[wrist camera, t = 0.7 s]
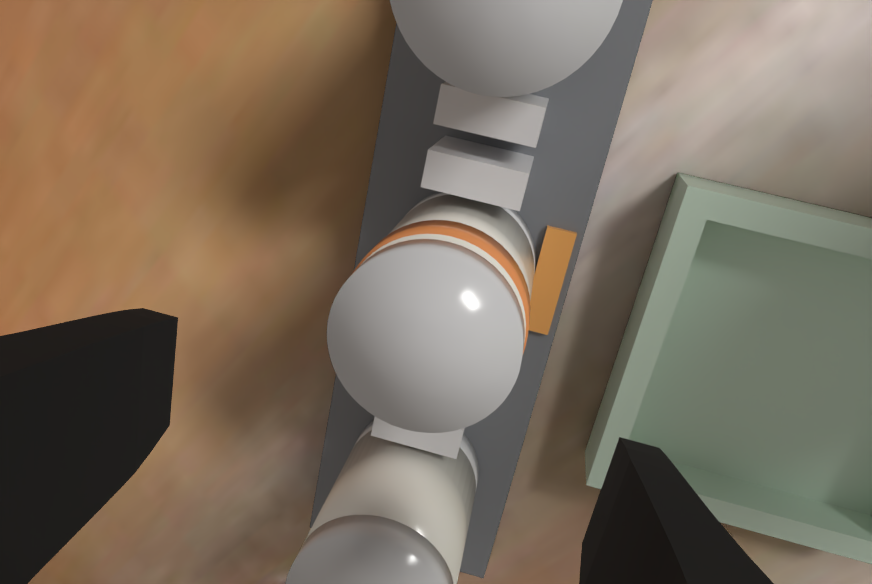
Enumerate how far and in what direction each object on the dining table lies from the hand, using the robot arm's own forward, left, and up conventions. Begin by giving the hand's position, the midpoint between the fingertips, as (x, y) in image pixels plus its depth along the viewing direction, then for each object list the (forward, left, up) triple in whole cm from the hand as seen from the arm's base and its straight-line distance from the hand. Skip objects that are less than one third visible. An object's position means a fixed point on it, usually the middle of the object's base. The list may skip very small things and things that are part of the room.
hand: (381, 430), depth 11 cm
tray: (-10, +1, -10) cm, 14 cm away
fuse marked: (0, 0, -9) cm, 9 cm away
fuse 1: (0, +7, -9) cm, 12 cm away
